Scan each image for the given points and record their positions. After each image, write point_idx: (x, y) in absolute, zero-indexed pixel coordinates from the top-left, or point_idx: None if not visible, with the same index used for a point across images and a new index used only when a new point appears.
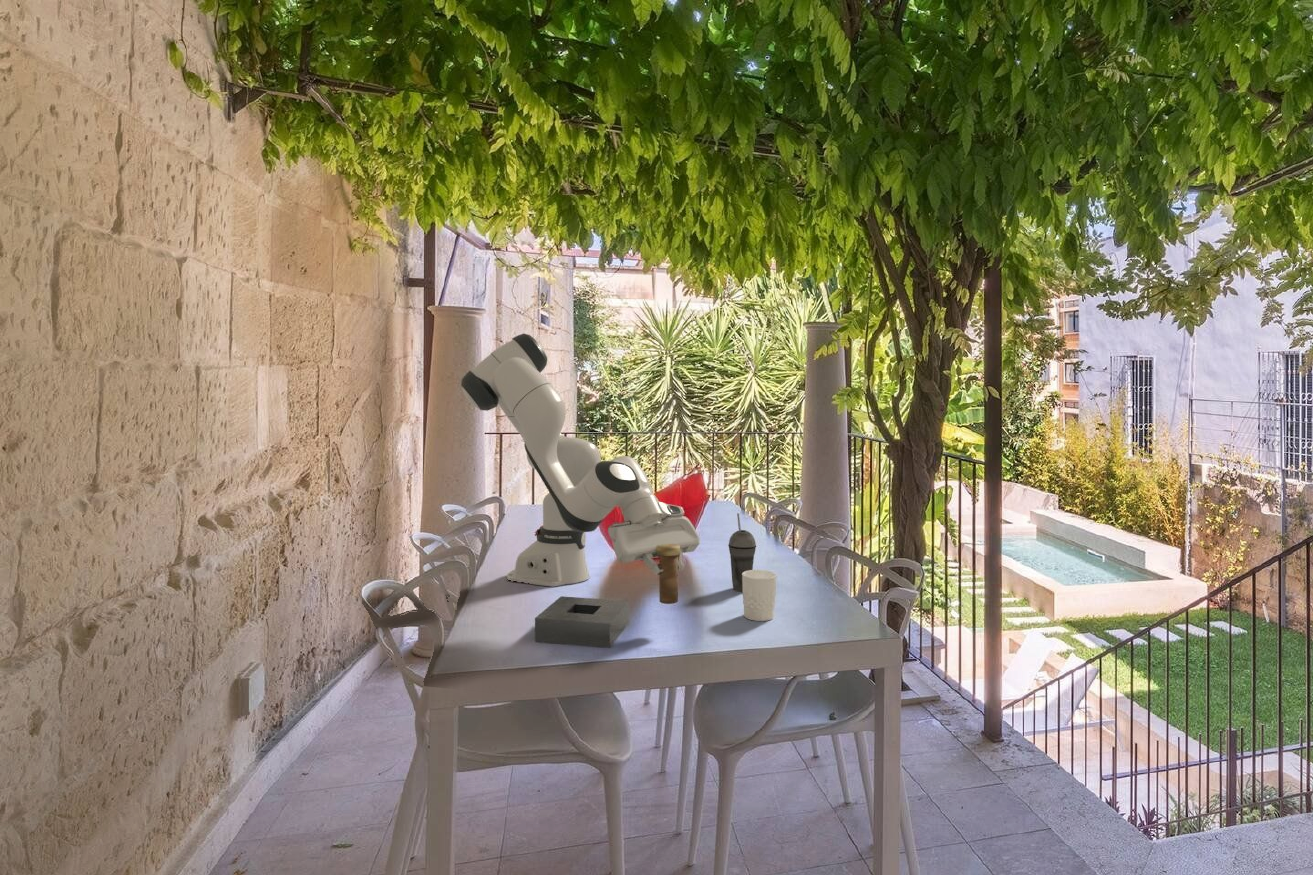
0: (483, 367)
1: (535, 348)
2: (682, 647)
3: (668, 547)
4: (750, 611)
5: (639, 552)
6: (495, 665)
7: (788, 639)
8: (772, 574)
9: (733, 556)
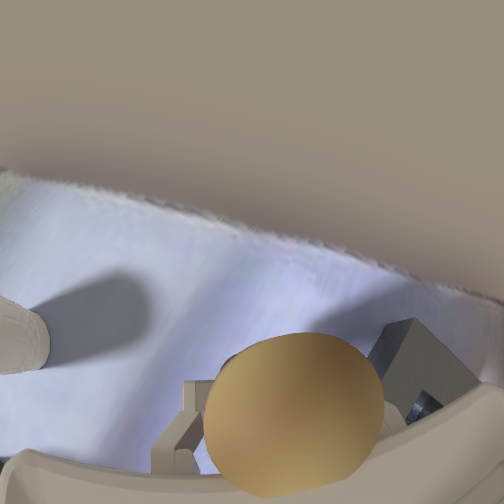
0: None
1: None
2: (262, 267)
3: (321, 388)
4: (40, 332)
5: (448, 406)
6: (494, 314)
7: (70, 212)
8: None
9: None
